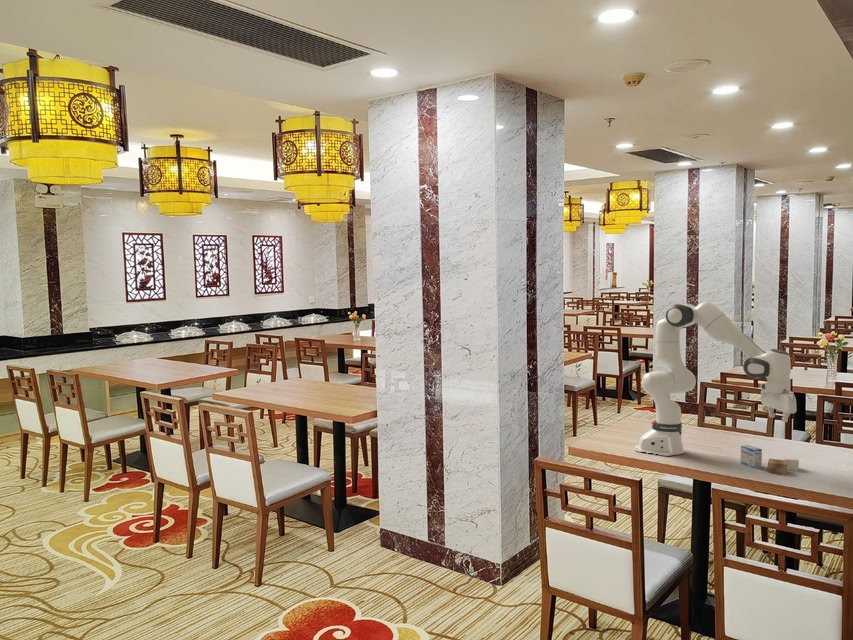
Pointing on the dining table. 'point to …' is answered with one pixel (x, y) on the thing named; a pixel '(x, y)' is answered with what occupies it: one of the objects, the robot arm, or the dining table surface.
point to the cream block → (792, 463)
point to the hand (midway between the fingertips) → (778, 419)
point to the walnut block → (777, 466)
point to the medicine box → (751, 456)
